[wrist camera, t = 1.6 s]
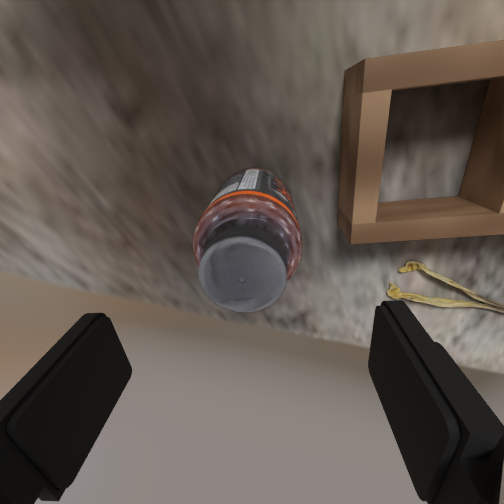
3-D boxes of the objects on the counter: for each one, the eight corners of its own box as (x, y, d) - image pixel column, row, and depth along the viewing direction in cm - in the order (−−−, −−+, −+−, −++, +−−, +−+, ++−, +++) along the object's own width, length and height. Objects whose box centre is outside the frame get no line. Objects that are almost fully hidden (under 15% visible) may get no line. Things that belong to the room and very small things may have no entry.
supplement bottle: (303, 217, 22) (332, 306, 12) (241, 246, 23) (221, 346, 13) (270, 150, 19) (272, 189, 9) (205, 187, 21) (146, 255, 11)
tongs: (503, 316, 26) (519, 330, 24) (378, 287, 26) (385, 299, 24) (533, 282, 24) (553, 295, 22) (397, 251, 24) (406, 261, 22)
